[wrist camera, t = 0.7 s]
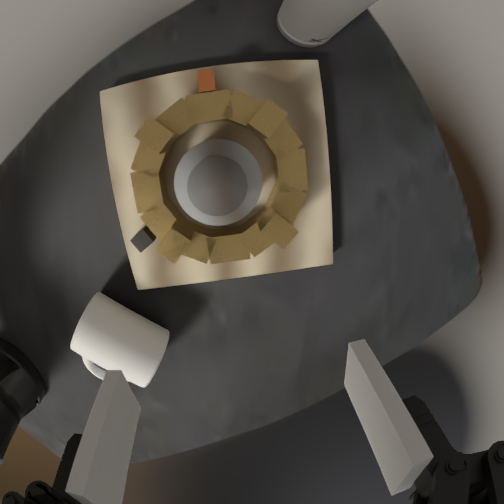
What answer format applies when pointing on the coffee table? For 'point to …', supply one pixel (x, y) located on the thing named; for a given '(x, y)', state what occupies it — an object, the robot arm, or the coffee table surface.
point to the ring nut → (230, 238)
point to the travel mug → (317, 19)
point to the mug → (119, 341)
